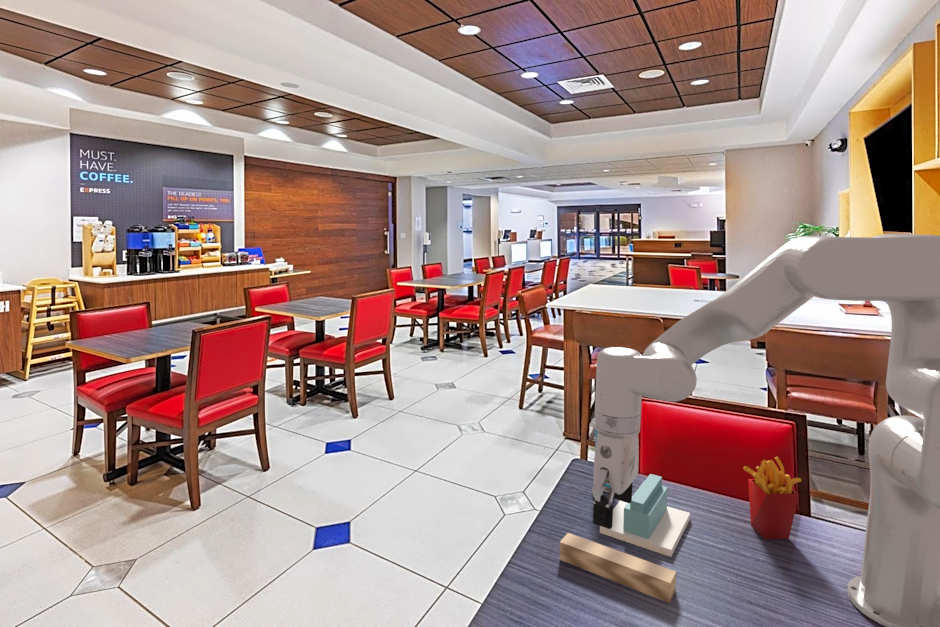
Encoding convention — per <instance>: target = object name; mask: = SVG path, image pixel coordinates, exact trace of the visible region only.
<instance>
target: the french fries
mask: <svg viewBox="0 0 940 627" xmlns="http://www.w3.org/2000/svg"><path fill="white" fill-rule="evenodd" d="M774 459H775V461H776V463H777V464H778V466H779V467H778V466H777V464H776V463H775V462H774V460H773V459H770V460H766V459H762V461H760V466H759V465H757V466H756V467H755V469H756V470H757V472H756V471H755V470H753V469H752V468H751V467H749V466H747V465H744V466H743V470H744V471H745V472H747V473H749V474H750V475H751V476H752V477H753V478H748V480H747V481H748V496H749V497H748V498H749V500H748V501H749V513H750V514H749V515H750V526H751V527H752V528H753V529H754V530H755V531H756V532H757V533H758V535H759V536H761V537H762V538H763V539H764V540H780V539H781V540H782V539H783V540H784V539H785V540H786V539H789V540H790V534H791V530H792V528H793V527H792V526H793V522H794V518H795V514H796V510H797V505H798V501H799V497H800V495H799V494H800V493H798V491H795V489H793V486H794V485H795V484H797V483H802V478H800V477H794V478H791V475H790V474H787V473H786V474H785V468H784V465H783V463H782V461H781V459H780V458H779V457H778V456H776V457H774ZM779 468H780V469H779Z"/></svg>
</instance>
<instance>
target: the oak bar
mask: <svg viewBox="0 0 940 627" xmlns="http://www.w3.org/2000/svg"><path fill="white" fill-rule="evenodd" d="M559 561H562V562H565V563H567V562H568V563H567V564H569V563H570V565H572V566H574V565H575V567H578V568H579V567H580V569H582V570H584V571H588V572H589V573H592V574H594V573H595V574H594V575H597V576H599V577H602V578H604V579H607V580H610V581H612V582H615V583H618V584H620V585H623V586H625V587H627V588H630V589H633V590H635V591H638V592H640V593H643V594H646V595H648V596H650V597H653V598H655V599H658V600H660V601H663V602H665V603H668V604H670V603H672V602H671V601H672V600H673V598H674V595H675V593H676V585H677V583H676V582H677V571H676V570H673V569H671V568H668V567H665V566H662V565H660V564H656V563H653V562H650V561H648V560H646V559H643V558H640V557H637V556H634V555H632V554H629V553H626V552H623V551H621V550H620V551H619V550H618V549H614V548H613V547H609V546H606V545H603V544H600V543H598V542H595V541H592V540H589V539H588V538H583V537H581V536H578V535H575V534H573V533H570V532H567V533H566V534H565V536H564V537H563V538H562V539H561V540H560V541H559Z"/></svg>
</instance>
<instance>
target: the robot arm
mask: <svg viewBox="0 0 940 627" xmlns="http://www.w3.org/2000/svg"><path fill="white" fill-rule="evenodd" d="M814 297H815V298H818V299H824V300H835V301H851V302H852V301H853V302H856V301H857V302H859V301H860V302H886V303H887V305H888V308H889V312H890V316H891V318H890V319H891V334H890V343H889V353H888V361H887V371H886V379H885V380H886V381H885V387H886V392H887V393H888V396H889V397H890V399H892V400H893V402H895V403H896V404H898V406H900V407H901V408H903V409H905V410H906V411H908V412H910V413H912V414H914V415H915V416H912V415H903V414H902V415H893V416H890V417H887V418H885V419H883V420H882V421H880V422H879V423H878V424H877V425H876V426H875V427H874V428H873V429H872V431H871V434H870V436H869V439H868V462H869V473H870V474H869V475H870V476H869V477H870V484H869V486H870V488H869V501H868V510H867V516H866V517H867V518H866V527H865V533H864V534H865V536H864V547H863V553H862V562H861V570H860V571H861V572H860V575H859V576H856V577H854V578H852V579H850V581H849V582H848V583H847V584H848V585H847V595H848V599H850V601H851V603H852V604H853V605H854V607H855V608H857V609H858V610H859V611H860V612H861V613H862V614H863V615H864V616H866V617H868V618H869V619H870V620H873V621H874V622H876V623H877V624H879V625H881V626H884V627H940V235H938V234H937V235H935V234H911V233H885V234H879V235H878V234H877V235H873V236H872V237H866V236H864V237H853V236H852V237H850V236H849V237H848V236H847V237H846V236H831V235H829V236H827V235H826V236H825V235H820V236H819V235H804V236H798V237H796V238H793V239H792V240H790V241H787V242H786V243H785V244H783V245H782V246H781V247H779V248H777V250H775V251H774V252H773V253H772V254H771V255H769V256H768V257H767V258H766V259H765V260H763V261H762V262H760V263H759V264H758V265H757V266H756V267H755V268H753V269H752V270H751V271H750V272H748V273H747V274H746V275H745V276H743V277H742V278H741V279H740V280H739V281H737V282H736V283H734V285H732V286H731V287H730V288H729V289H727V290H726V291H724V292H723V293H722V294H720V295H719V296H718V297H717V298H715V299H712V300H711V301H710V302H707V303H705V304H704V305H702V306H701V307H700V308H698V309H696V310H694V311H692V312H691V313H689V314H688V315H687V316H684V317H683V318H681V319H680V320H678V321H677V322H676V323H674V324H673V325H672V326H671V327H670V328H668V329H667V330H666V331H664V332H663V333H662V334H661V335H659V336H658V337H657V338H656V339H655V340H653V341H652V342H651V343H649V345H647V347H646V348H645V349H644V351H643V353H641V352H639V351H638V350H636V349H633V348H628V347H622V346H619V347H618V346H616V347H615V346H613V347H606V348H603V349H601V350H600V351H599V352H598V354H597V356H596V370H595V371H596V372H595V373H596V375H595V378H596V379H595V399H594V400H595V402H594V423H593V424H594V425H593V426H594V430H595V429H596V430H597V431H598V433H597V440H596V448H595V447H594V459H593V460H594V461H593V485H592V488H591V491H592V503H593V508H592V509H593V510H592V511H593V512H592V523H593V524H595V525H597V526H599V527H600V526H602V527H605V528H607V529H611V528H612V523H613V509H614V506H613V505H612V504H613V501H614V499H615V500H617V501H623V502H626V503H631V501H632V496H633V485H634V484H633V483H634V480H636V478H637V477H638V474H639V463H640V462H639V460H640V459H639V455H640V454H639V452H640V451H639V450H640V449H639V448H640V446H639V441H640V440H639V434H640V433H641V420H642V419H641V418H642V417H641V416H642V398H643V397H645V398H650V399H655V400H658V401H663V402H680V401H682V400H685V399H687V398H688V397H690V396H691V395H692V394H693V393H694V391H695V390H696V387H697V381H698V380H697V379H698V378H697V374H696V371H695V369H694V366H692V365H694V364H695V363H696V362H698V361H699V360H700V359H702V358H703V357H705V356H706V355H707V354H710V352H712V351H714V350H716V349H718V348H721V347H722V346H726V345H729V344H733V343H739V342H745V341H751V340H755V339H758V338H760V337H762V336H764V335H765V334H767V333H768V332H769V331H770V330H772V329H773V328H774V327H776V326H777V325H778V324H779V323H781V322H782V321H784V320H785V319H786V318H788V317H789V316H790V315H791V314H792V313H794V312H795V311H796V310H798V309H800V308H801V307H802V306H803V305H805V304H806V303H808V301H810V300H811V299H812V298H814ZM605 483H606V484H609V485H610V486H611V488H610V487H606V486H605ZM604 492H607V493H608V495H607V497H606V496H605V495H604Z"/></svg>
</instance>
